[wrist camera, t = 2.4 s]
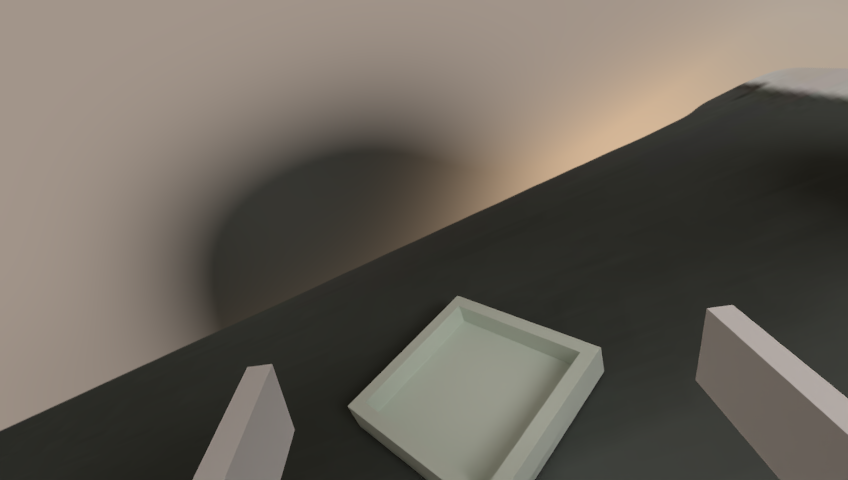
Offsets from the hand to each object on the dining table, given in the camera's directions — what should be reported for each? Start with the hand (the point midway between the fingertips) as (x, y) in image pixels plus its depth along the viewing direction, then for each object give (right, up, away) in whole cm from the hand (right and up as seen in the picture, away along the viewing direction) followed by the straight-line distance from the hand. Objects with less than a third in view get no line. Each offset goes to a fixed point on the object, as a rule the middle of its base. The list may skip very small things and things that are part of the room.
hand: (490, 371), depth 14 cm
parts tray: (+3, -10, +26) cm, 28 cm away
